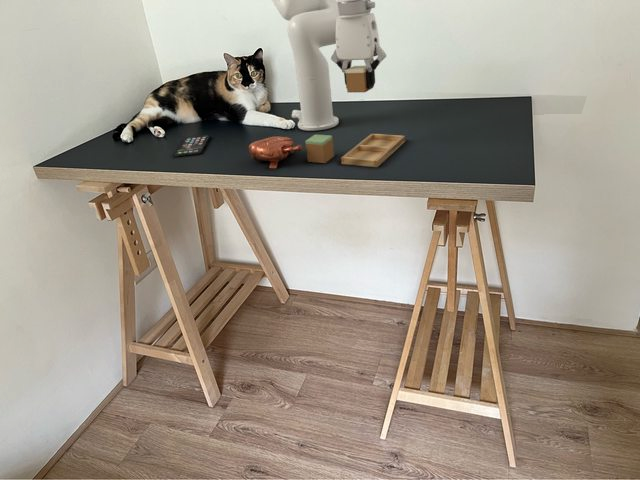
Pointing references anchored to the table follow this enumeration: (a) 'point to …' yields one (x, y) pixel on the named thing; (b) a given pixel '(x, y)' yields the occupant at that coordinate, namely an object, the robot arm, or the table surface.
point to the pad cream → (356, 79)
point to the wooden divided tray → (373, 150)
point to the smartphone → (192, 145)
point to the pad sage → (319, 148)
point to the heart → (273, 149)
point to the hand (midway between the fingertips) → (360, 86)
